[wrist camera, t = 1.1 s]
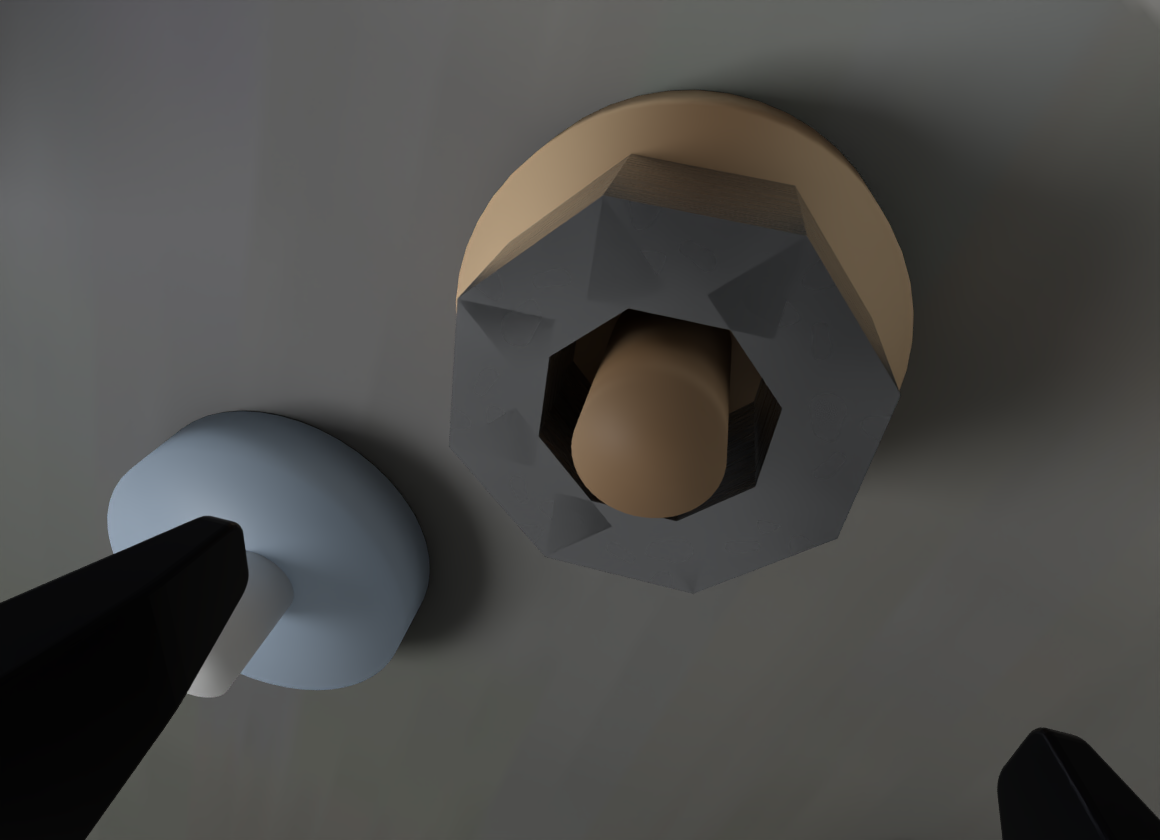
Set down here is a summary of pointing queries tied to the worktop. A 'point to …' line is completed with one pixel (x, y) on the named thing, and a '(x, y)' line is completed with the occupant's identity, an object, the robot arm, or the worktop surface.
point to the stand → (678, 347)
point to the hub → (287, 547)
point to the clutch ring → (688, 292)
